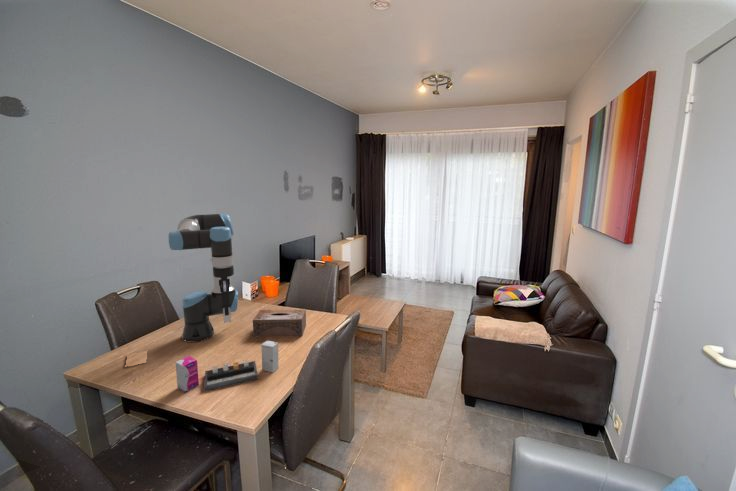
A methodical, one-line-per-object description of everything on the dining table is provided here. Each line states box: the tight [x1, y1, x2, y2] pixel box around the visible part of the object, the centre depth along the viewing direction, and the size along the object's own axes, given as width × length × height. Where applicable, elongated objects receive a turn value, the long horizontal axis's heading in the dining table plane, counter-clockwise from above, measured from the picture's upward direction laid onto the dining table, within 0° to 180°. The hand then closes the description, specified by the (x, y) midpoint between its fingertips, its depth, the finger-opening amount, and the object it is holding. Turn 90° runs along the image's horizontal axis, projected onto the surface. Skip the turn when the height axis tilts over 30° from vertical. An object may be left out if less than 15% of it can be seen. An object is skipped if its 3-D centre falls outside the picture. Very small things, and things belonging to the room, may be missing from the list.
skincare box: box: [261, 340, 280, 373], centre depth 142 cm, size 6×4×12 cm
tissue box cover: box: [252, 308, 307, 338], centre depth 180 cm, size 26×14×10 cm, turn 93°
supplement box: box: [175, 355, 200, 393], centre depth 129 cm, size 6×6×12 cm
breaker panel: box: [203, 359, 259, 392], centre depth 136 cm, size 20×12×6 cm, turn 114°
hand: (227, 321), depth 133 cm, fingers closed
